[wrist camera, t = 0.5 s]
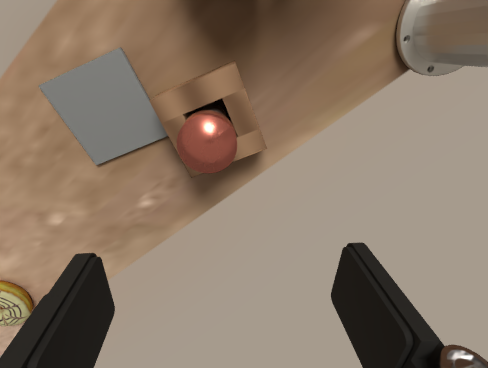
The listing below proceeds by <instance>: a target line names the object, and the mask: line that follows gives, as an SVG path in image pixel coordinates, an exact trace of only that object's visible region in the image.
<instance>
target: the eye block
mask: <svg viewBox="0 0 488 368" xmlns="http://www.w3.org/2000/svg"><path fill="white" fill-rule="evenodd" d="M221 98H222V99H223V101H224V104H225V106H226V108H227V111H228V113H229V116H230V118H231V120H232V123H233V125H234V128H235V131H236V136H237V152H236V155H235V158H234V160H233V161H232V162H234V161H236V160H239V159H242V158H244V157H247V156H249V155H252V154H255V153H257V152H260V151H263V150H265V149H267V147H266V145H265V142H264V139H263V137H262V134H261V131H260V128H259V126H258V123H257V120H256V117H255V115H254V112H253V109H252V107H251V104H250V101H249V98H248V96H247V93H246V90H245V87H244V85H243V82H242V79H241V76H240V74H239V71H238V68H237V66H236V63H235V61H233V62H231V63H229V64H226V65H224V66H222V67H219V68H217V69H215V70H212V71H210V72H208V73H206V74H203V75H201V76H199V77H196V78H194V79H192V80H189V81H187V82H185V83H183V84H180V85H178V86H176V87H173V88H171V89H169V90H166V91H164V92H162V93H160V94H158V95H156V96H155V97H153V98H152V99H151V100H149V102H150V103H151V105H152V107H153V109H154V111H155V113H156V114H157V116H158V118H159V120H160V122H161V123H162V125H163V127H164V129H165V131H166V133H167V134H168V136H169V138H170V140H171V142H172V143H173V145H174V147H175V149H176V151H177V153H178V150H177V136H178V133H179V131H180V129H181V127H182V126H183V124H184V122H185V121H186V120H187V118H189V117H190V116H191V115H192V113H191V111H192V110H194V109H197V108H199V107H202V106H204V105H206V104H209V103H211V102H214V101H216V100H218V99H221ZM181 160H182V159H181ZM182 162H183V161H182ZM183 163H184V162H183ZM184 165H185V167H186V169H187V171H188V173H189V174H190V176H191V178H192V177H195V176H197V175H200V174H202V173H201V172H198V171H195V170H193V169H191V168H190V167H188V166H187V165H186V164H185V163H184Z"/></svg>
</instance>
